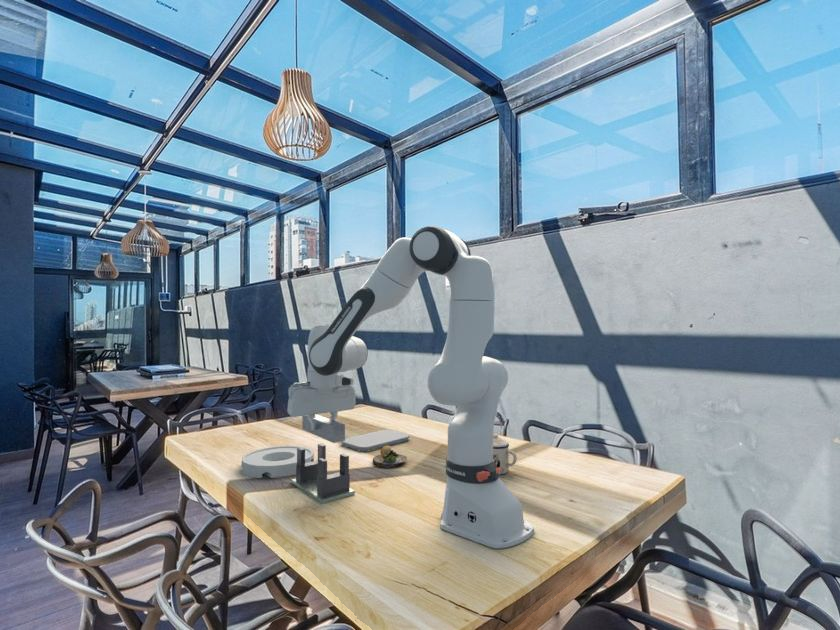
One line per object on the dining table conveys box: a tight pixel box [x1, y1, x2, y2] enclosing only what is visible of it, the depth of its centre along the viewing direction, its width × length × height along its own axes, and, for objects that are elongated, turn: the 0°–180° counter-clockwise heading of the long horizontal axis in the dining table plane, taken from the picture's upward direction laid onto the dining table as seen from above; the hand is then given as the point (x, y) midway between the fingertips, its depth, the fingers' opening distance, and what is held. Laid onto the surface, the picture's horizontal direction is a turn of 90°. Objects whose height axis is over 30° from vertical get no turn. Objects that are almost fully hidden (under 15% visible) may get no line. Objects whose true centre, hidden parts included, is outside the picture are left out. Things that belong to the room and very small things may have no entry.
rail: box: [301, 414, 346, 444], centre depth 124 cm, size 20×4×4 cm, turn 39°
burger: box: [372, 443, 408, 469], centre depth 147 cm, size 12×12×8 cm
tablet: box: [341, 429, 411, 452], centre depth 173 cm, size 16×26×2 cm, turn 136°
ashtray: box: [241, 445, 315, 479], centre depth 144 cm, size 23×23×4 cm
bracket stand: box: [290, 443, 356, 504], centre depth 124 cm, size 20×10×10 cm, turn 39°
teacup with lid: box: [493, 433, 517, 475], centre depth 138 cm, size 12×9×12 cm
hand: (322, 428), depth 124 cm, fingers closed on rail, 3 cm apart
